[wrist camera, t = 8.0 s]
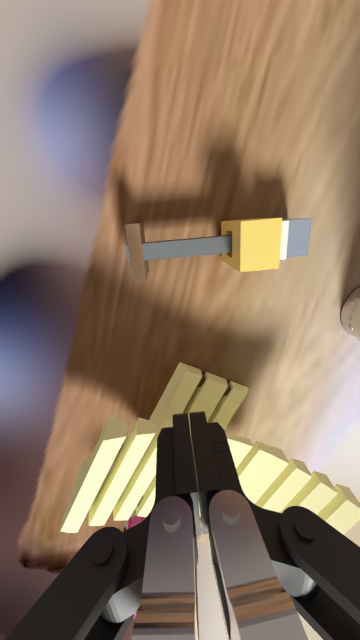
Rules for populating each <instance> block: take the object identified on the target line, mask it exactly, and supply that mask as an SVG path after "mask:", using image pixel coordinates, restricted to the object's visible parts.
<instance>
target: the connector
mask: <svg viewBox="0 0 360 640" xmlns="http://www.w3.org/2000/svg"><path fill="white" fill-rule="evenodd" d="M282 221H289V230H288V242H287V255H286V258H288V257H298V256H308V247H309V239H310V230H311V221H312V218H298V219H282Z"/></svg>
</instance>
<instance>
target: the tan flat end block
mask: <svg viewBox="0 0 360 640" xmlns="http://www.w3.org/2000/svg"><path fill="white" fill-rule="evenodd" d="M125 230H126V237H127V243H128V249H129V256H130V262H131V269H132V275H133V281H135V280H145V279H147V275H148V272H149V268H148V260H146V261H144V257H143V249H142V243H144V242H145V236H144V229H143V223H136V224H125Z"/></svg>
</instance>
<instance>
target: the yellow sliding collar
mask: <svg viewBox="0 0 360 640" xmlns="http://www.w3.org/2000/svg"><path fill="white" fill-rule="evenodd" d="M281 231H282V218H255V219H242V220H230V221H221V236H223V235H232V253H223V254H221V257H222V260H223V261H224V262H226V263H227V264H229V265H230V266H232V267H233V268H235V269H236V270H238V271H239V272H247V271H257V270H268V269H278V268H279V259H280V245H281Z"/></svg>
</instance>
